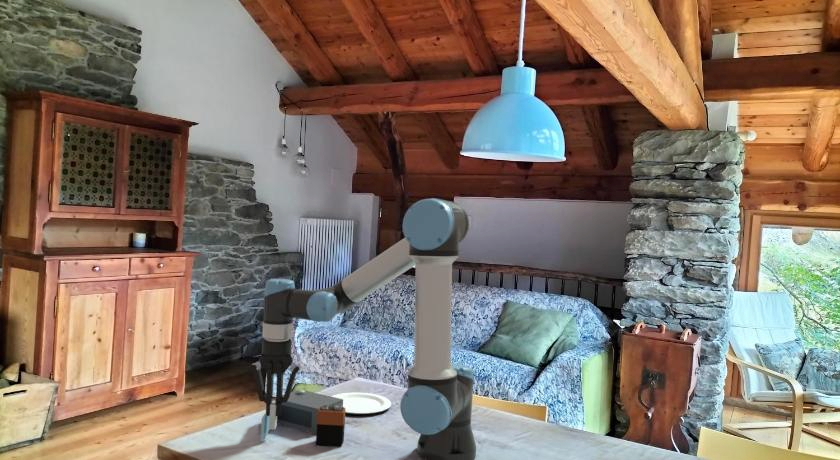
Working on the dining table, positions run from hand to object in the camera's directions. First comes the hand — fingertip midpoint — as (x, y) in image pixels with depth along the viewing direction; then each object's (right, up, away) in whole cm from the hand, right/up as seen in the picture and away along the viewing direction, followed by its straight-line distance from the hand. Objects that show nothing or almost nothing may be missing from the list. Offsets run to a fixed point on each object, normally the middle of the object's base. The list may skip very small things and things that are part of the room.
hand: (272, 427), depth 156 cm
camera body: (+8, -3, +13) cm, 15 cm away
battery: (+15, -4, -1) cm, 16 cm away
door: (-3, -2, +4) cm, 5 cm away
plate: (+19, -4, +31) cm, 36 cm away
